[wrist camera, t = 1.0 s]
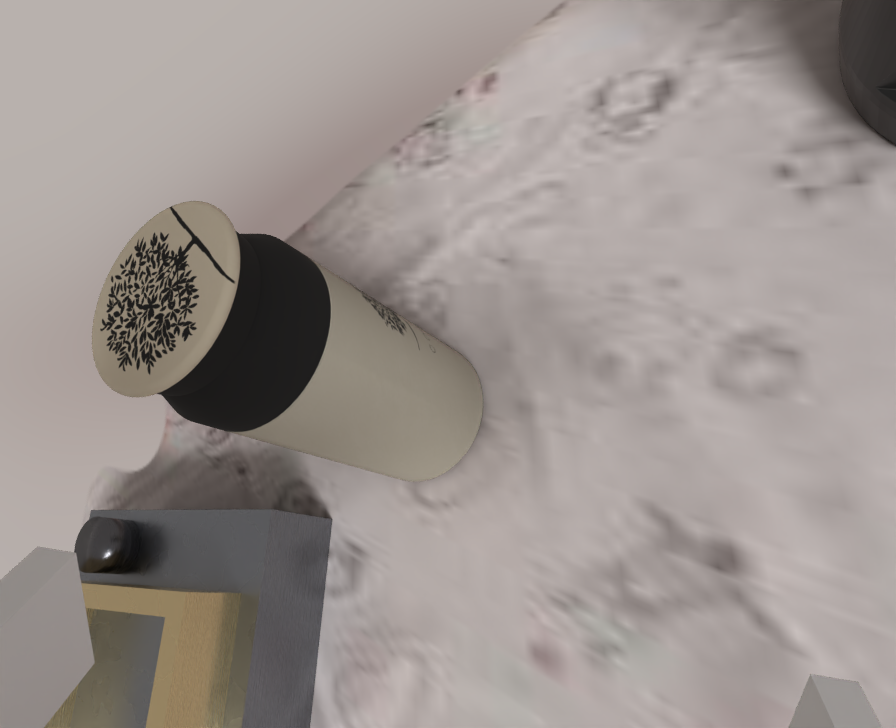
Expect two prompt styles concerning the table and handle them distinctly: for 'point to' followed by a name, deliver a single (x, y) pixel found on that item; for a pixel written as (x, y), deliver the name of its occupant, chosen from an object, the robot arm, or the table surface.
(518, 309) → the table surface
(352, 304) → the travel mug
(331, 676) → the table surface
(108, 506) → the table surface
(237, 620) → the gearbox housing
